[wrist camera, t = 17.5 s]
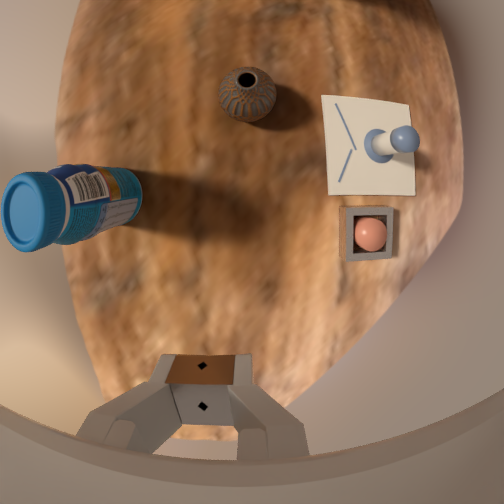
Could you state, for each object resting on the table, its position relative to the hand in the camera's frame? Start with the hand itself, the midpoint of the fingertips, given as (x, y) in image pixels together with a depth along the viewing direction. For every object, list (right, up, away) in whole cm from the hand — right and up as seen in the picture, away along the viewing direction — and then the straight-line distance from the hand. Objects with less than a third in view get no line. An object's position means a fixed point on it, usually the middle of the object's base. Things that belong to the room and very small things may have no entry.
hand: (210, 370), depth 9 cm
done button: (+17, +7, +28) cm, 33 cm away
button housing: (+17, +7, +28) cm, 34 cm away
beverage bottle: (-17, +12, +27) cm, 34 cm away
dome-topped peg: (+19, +19, +25) cm, 37 cm away
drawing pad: (+18, +19, +25) cm, 36 cm away
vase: (+1, +24, +24) cm, 34 cm away
